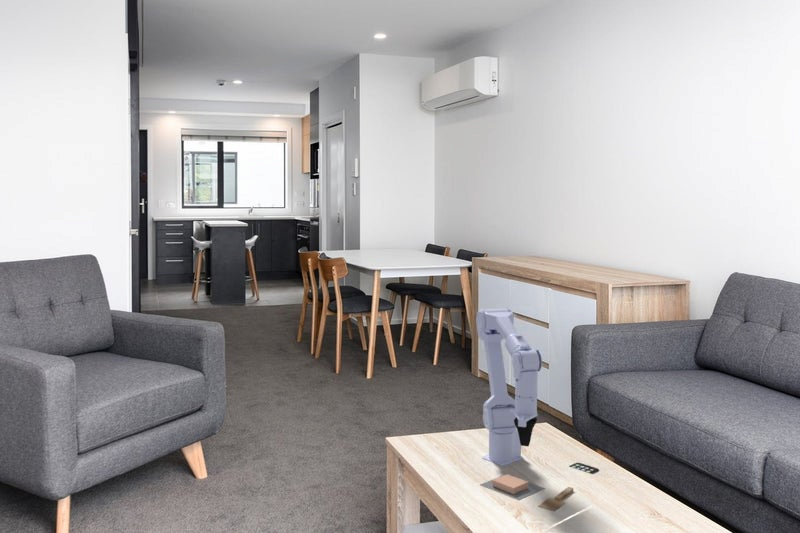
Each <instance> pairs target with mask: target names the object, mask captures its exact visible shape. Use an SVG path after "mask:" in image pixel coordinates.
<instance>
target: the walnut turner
mask: <svg viewBox="0 0 800 533" xmlns="http://www.w3.org/2000/svg"><path fill="white" fill-rule="evenodd" d="M573 492H574V487H571V486H567V487H566V488H565V489H563V490H561V492H559V493H558V494H557V495H555V496H554V498H551V497H548V498H547V499H545V500H544V501H543V502H541V503H540V504H539V505H537V507H538V508H542V509H545V510H549V511H552V512H556V511H557V510H559V509H560V508H561V507H562V506H563V505H565V504H566V501H562V500H564V499H565V498H566V497H567V496H569V495H570V494H572V493H573Z"/></svg>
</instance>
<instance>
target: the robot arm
mask: <svg viewBox="0 0 800 533" xmlns="http://www.w3.org/2000/svg"><path fill="white" fill-rule="evenodd" d="M475 320H476V322H475V323H476V331H477V335H478V339H480V340H482V341H483V344H484V349H485V350H484V351H485V352H484V353H485V359H486V360H485V361H486V365H487V366H486V367H487V374H488V381H489V390H490V397H489V398H488V399H487V400H485V402H483V406H482V411H483V412H482V422H483V425H484V427H485V428H486V429H487V430H488V454H487V455H485V456H482V459H483V460H485V461H488V462H491V463H494V464H496V465H499V466H501V467H503V466H507V465H509V464H511V463H514V462H516V461H520V460H522V459H524V456H522V447H529V446H530V444H531V439H532V434H533V430H534V427H535V425H536V424H537V421H538V418H537V417H538V411H537V409H538V407H537V406H538V376H539V374H538V373H539V372H540V371H541V370H542V366H543V358H542V355H541V353H540V350H539V349H537V348H532V347H531V346H530V344H529V343H528V340H526V338H525V337H524V335H522V334H521V333H517V331H516V328H515V327H514V323H515V318H514V313H513V311H512V309H511V308H509V307H506V308H489V309H488V308H486V309H483V308H479V309H478V311H477V313H476V318H475ZM503 340H505V342H504V347H505V348H506V350H507V352H508V353H509V354H508V355H510V357H511V364H512V365H511V366H512V370H513V378H515V382H514V383H515V387H514V388H515V389H514V390H515V391H514V392H515V393H514V398H513V397H512V396H510V395H509V393H508V386H507V378H506V371H505V364H504V355H503V349H502V341H503Z"/></svg>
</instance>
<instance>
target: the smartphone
mask: <svg viewBox="0 0 800 533" xmlns="http://www.w3.org/2000/svg"><path fill="white" fill-rule="evenodd" d="M568 467H570V468H571V469H575V470H578V471H581V472H584V473H587V474H590V475H593V474H595V473H597V472H599V468H597V467H594V466H591V465H589V464H585V463H581V462H575V463H573V464H571V465H568Z"/></svg>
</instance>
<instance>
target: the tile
mask: <svg viewBox="0 0 800 533" xmlns="http://www.w3.org/2000/svg"><path fill="white" fill-rule="evenodd" d="M503 475H504V476H503ZM503 475H501V477H500V476H498V477H499V478H498V477H495V478H496V479H495V478H493V479H494V480H493V479H492V480H493V483H492V486H494V487H496V488H499V489H501V490H504V491H507V492H509V493H512V494H515V493H517V492H520V491H522V490H524V489H527V488H528V482H529V481H528V480H524V479H521V478H518V477H517V476H516V477H515V476H512V475H511V474H507V473H506V475H505V474H503Z"/></svg>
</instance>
